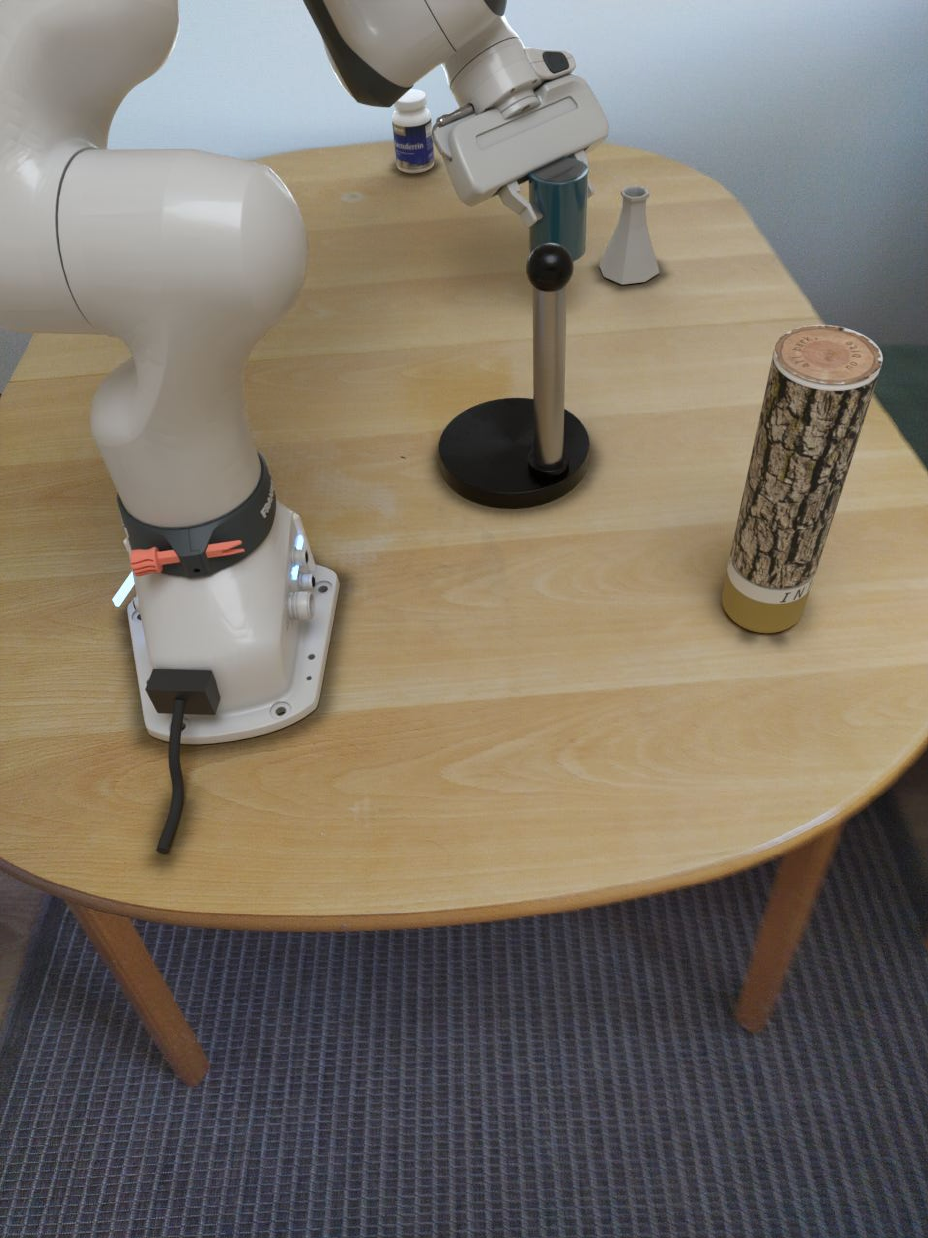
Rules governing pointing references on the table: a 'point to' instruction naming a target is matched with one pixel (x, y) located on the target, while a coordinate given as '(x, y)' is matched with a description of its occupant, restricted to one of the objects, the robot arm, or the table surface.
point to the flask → (630, 242)
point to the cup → (560, 205)
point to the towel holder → (524, 414)
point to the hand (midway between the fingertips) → (562, 210)
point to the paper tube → (797, 471)
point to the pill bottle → (413, 133)
